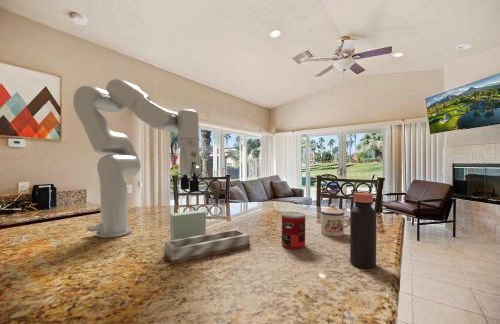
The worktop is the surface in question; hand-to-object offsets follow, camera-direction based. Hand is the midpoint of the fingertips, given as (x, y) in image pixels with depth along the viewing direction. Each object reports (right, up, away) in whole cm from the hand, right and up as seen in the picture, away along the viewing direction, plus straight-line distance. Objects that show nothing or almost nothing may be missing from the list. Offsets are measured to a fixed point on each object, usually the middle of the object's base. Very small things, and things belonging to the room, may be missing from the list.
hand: (189, 190), depth 92 cm
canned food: (+37, -19, -6) cm, 42 cm away
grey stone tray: (+9, -18, -10) cm, 23 cm away
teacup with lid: (+57, -18, +8) cm, 60 cm away
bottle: (+54, -19, -21) cm, 61 cm away
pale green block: (0, -18, 0) cm, 18 cm away
